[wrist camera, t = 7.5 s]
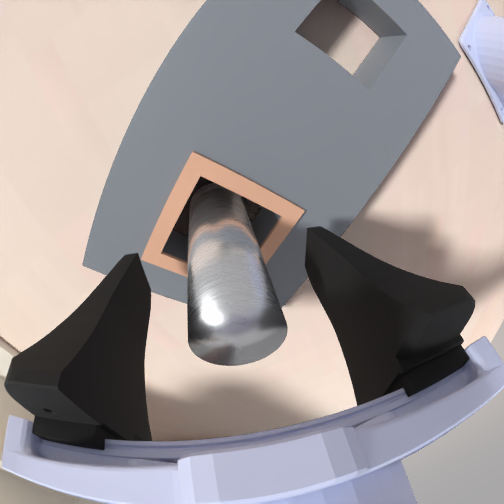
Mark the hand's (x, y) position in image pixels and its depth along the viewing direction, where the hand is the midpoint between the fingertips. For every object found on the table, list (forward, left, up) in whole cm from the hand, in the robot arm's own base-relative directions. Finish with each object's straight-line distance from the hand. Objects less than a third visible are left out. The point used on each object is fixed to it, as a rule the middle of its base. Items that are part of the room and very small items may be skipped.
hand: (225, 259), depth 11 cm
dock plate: (0, -6, -5) cm, 8 cm away
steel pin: (0, 0, -5) cm, 5 cm away
